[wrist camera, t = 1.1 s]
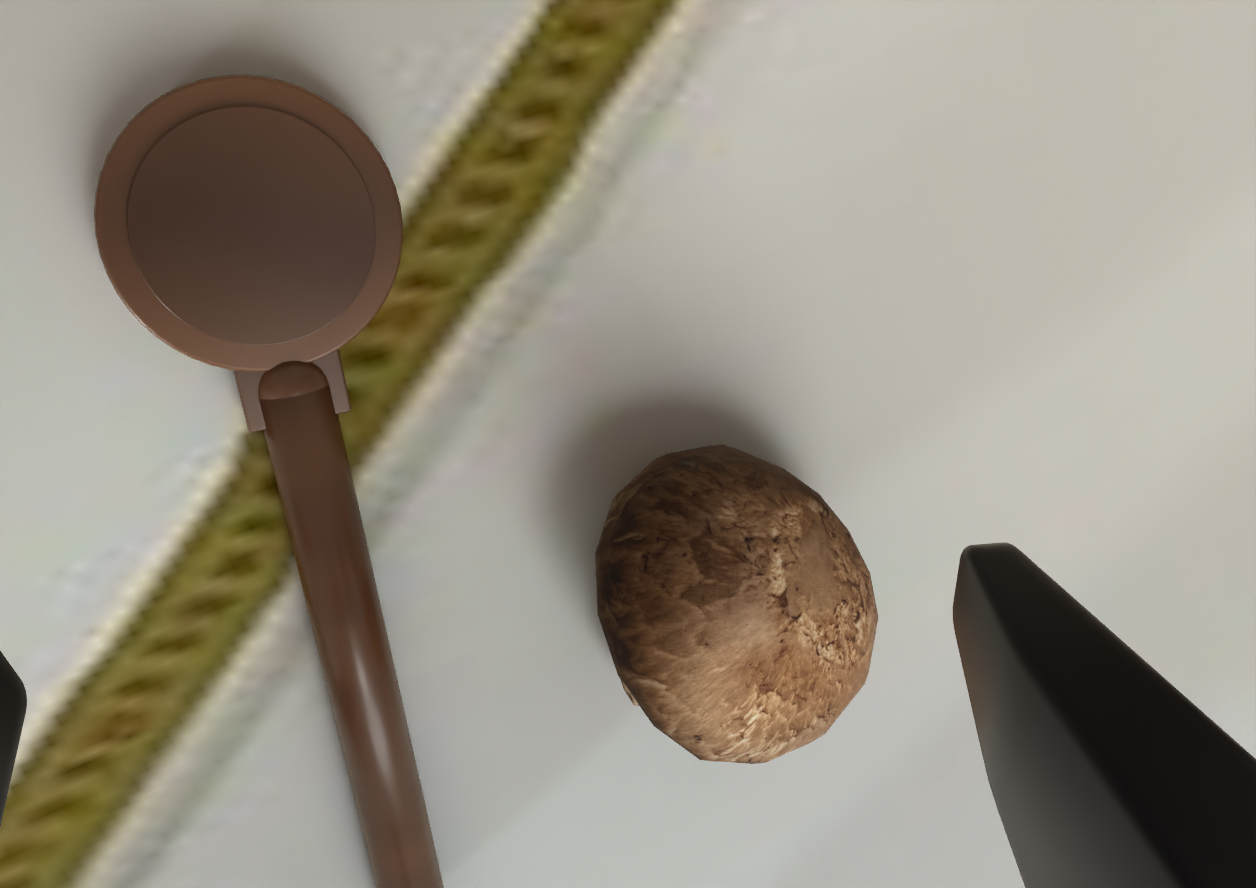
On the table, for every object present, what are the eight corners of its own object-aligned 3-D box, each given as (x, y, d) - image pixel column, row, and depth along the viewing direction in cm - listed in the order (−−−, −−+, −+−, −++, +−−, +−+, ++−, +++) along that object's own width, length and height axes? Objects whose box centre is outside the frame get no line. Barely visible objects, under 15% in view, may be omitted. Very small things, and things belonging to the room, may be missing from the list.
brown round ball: (620, 851, 27) (801, 835, 22) (462, 567, 27) (609, 490, 22) (796, 685, 32) (970, 644, 27) (664, 449, 32) (816, 368, 27)
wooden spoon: (524, 878, 30) (540, 915, 28) (302, 959, 28) (306, 1002, 26) (364, 62, 23) (375, 55, 22) (62, 98, 22) (51, 94, 20)
